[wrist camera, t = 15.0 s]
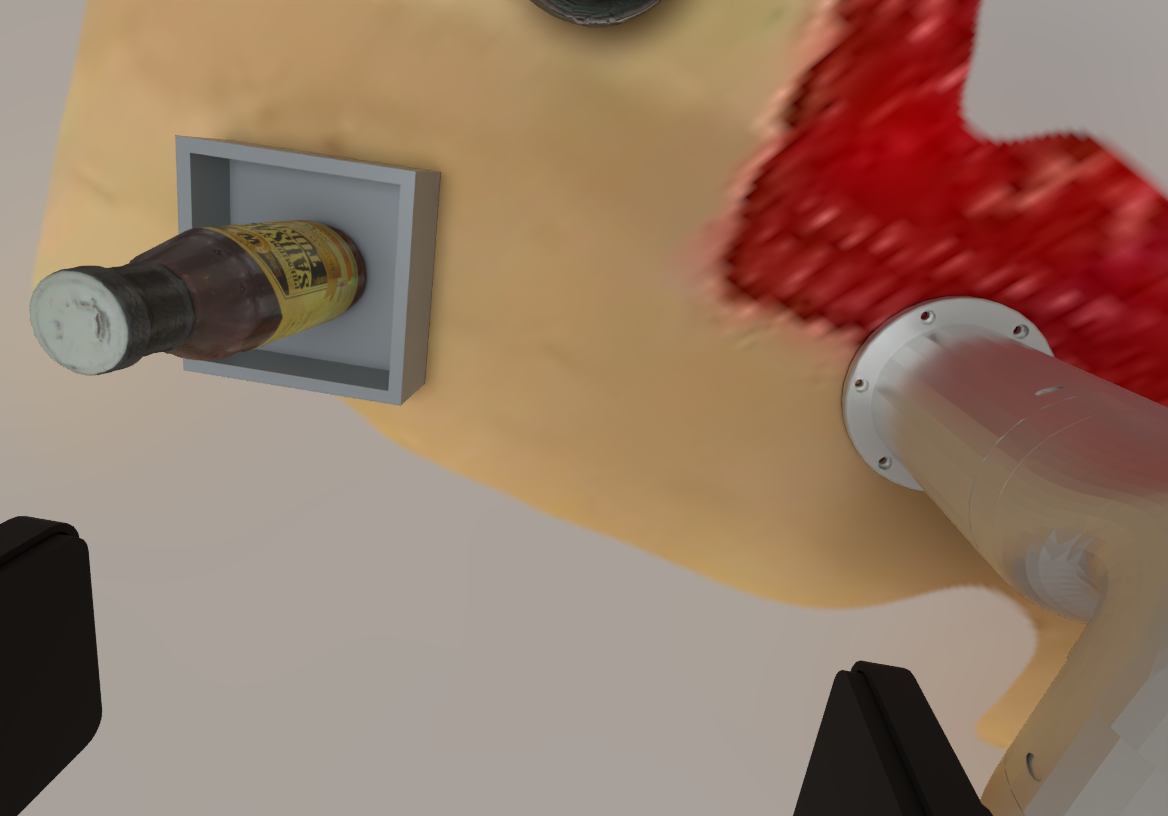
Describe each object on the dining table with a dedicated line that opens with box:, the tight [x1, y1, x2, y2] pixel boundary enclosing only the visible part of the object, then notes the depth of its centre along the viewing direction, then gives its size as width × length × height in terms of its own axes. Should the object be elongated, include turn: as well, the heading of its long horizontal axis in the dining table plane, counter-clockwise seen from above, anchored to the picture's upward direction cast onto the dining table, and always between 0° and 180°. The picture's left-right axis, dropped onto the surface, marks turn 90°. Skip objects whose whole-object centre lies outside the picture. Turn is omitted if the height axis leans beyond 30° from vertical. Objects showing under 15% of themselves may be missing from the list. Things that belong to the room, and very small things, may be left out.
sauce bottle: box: [29, 220, 365, 375], centre depth 36 cm, size 7×6×20 cm
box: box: [175, 135, 441, 406], centre depth 44 cm, size 14×14×5 cm
